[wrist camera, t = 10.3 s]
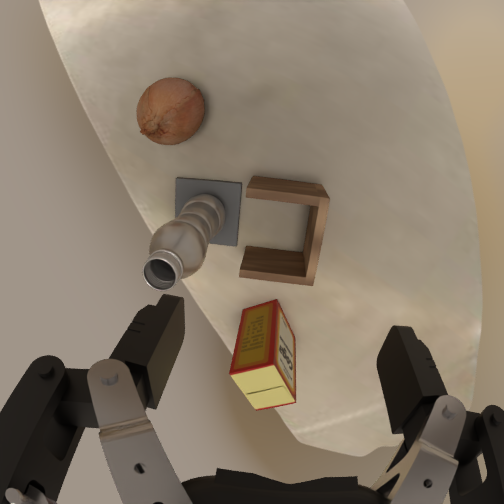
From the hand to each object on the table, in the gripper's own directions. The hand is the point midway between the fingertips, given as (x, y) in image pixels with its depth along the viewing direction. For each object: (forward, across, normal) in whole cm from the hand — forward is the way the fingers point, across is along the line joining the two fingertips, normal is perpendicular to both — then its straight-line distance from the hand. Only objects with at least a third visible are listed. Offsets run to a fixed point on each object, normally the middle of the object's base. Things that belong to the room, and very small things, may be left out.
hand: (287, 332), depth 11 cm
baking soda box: (+35, -2, +28) cm, 45 cm away
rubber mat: (+35, +11, +9) cm, 38 cm away
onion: (+36, +16, -7) cm, 40 cm away
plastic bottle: (+34, +11, +8) cm, 37 cm away
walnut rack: (+35, 0, +8) cm, 36 cm away
